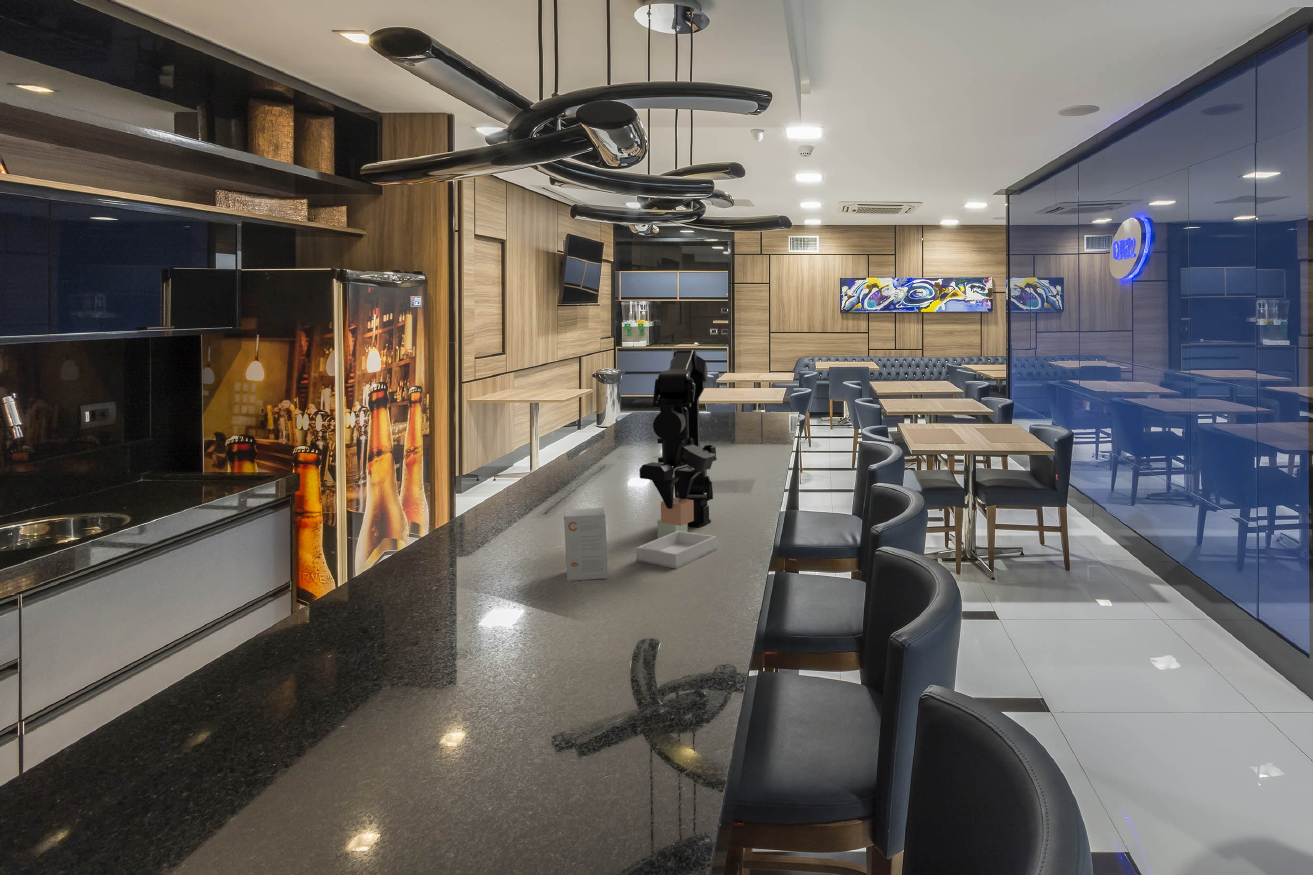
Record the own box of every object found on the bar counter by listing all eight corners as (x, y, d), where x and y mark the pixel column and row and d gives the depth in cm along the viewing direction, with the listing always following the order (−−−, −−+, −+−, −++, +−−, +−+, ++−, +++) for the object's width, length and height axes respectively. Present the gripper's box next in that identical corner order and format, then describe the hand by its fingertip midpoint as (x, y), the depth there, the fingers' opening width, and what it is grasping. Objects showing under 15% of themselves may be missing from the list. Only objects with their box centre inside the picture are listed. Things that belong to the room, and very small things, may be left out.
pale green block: (657, 539, 189) (657, 520, 188) (669, 534, 193) (669, 515, 192) (675, 542, 186) (675, 523, 185) (687, 537, 190) (687, 518, 189)
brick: (661, 522, 173) (660, 501, 173) (674, 517, 177) (673, 497, 177) (680, 525, 170) (680, 504, 170) (693, 520, 174) (693, 500, 174)
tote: (636, 561, 171) (636, 547, 171) (678, 543, 184) (678, 530, 184) (676, 568, 165) (675, 554, 165) (716, 549, 178) (716, 536, 178)
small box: (606, 569, 166) (604, 507, 164) (608, 579, 160) (605, 514, 158) (566, 571, 166) (564, 508, 164) (566, 581, 159) (563, 516, 157)
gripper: (683, 441, 159) (684, 519, 161) (730, 429, 174) (731, 501, 176) (636, 438, 165) (639, 513, 168) (686, 426, 180) (688, 496, 183)
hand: (676, 505), depth 173 cm, fingers closed on brick, 5 cm apart
